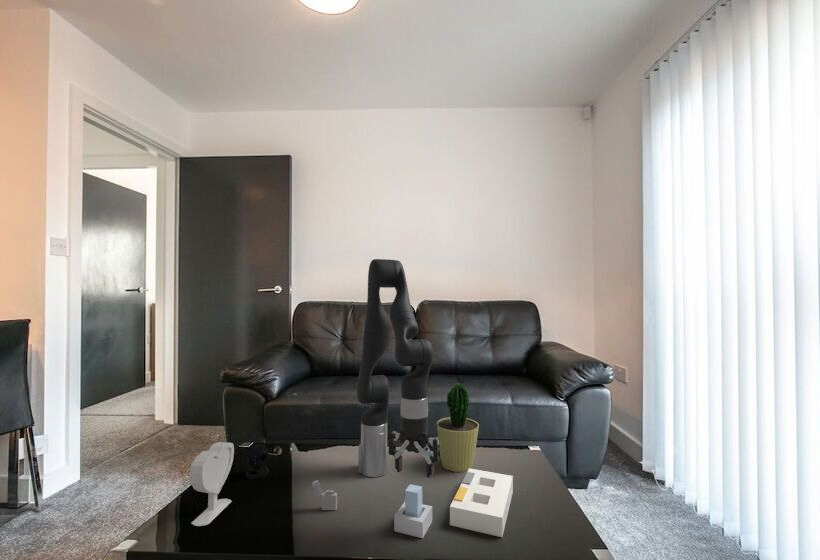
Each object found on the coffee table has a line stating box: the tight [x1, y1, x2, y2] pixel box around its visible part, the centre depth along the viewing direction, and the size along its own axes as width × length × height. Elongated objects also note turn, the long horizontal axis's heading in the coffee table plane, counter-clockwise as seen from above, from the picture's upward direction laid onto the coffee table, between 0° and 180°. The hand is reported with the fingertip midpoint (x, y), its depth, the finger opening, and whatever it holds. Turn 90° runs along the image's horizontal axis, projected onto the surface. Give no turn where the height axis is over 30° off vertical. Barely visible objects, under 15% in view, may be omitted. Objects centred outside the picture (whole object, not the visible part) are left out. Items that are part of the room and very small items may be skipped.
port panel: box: [449, 468, 514, 538], centre depth 113 cm, size 14×24×5 cm, turn 159°
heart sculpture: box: [189, 441, 235, 527], centre depth 111 cm, size 16×5×18 cm, turn 175°
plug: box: [404, 483, 423, 518], centre depth 104 cm, size 4×4×10 cm
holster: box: [393, 501, 433, 539], centre depth 104 cm, size 8×8×4 cm
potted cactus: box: [436, 382, 480, 473], centre depth 141 cm, size 15×15×30 cm
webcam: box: [245, 444, 270, 480], centre depth 132 cm, size 8×8×10 cm
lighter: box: [311, 479, 338, 511], centre depth 112 cm, size 7×2×8 cm, turn 89°
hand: (414, 473), depth 104 cm, fingers open, 8 cm apart
